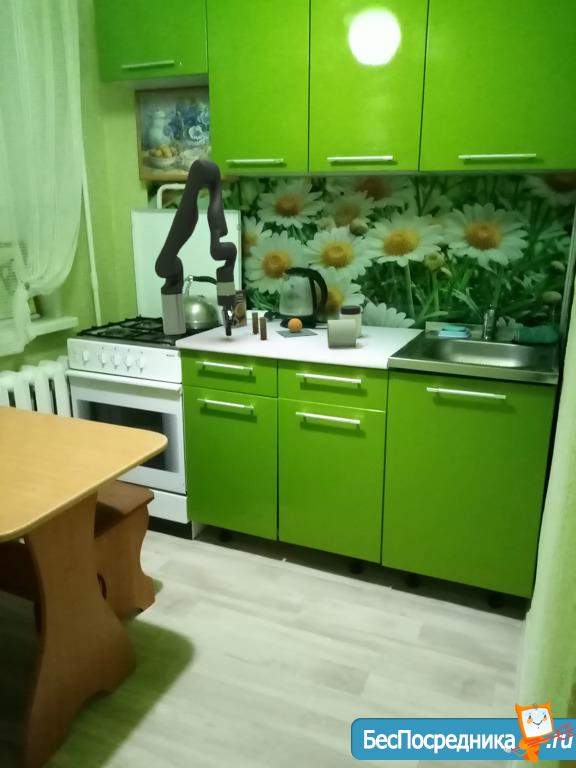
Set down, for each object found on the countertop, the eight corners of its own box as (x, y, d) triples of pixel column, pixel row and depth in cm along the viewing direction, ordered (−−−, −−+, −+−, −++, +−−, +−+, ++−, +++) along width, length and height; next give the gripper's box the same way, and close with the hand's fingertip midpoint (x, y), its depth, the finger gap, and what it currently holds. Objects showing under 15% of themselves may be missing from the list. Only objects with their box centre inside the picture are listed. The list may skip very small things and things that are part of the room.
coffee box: (234, 328, 266) (232, 292, 261) (223, 327, 269) (221, 291, 265) (247, 325, 273) (246, 289, 268) (237, 324, 276) (235, 289, 272)
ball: (307, 326, 250) (297, 336, 250) (301, 324, 256) (291, 334, 255) (298, 316, 248) (288, 326, 247) (293, 314, 253) (283, 324, 252)
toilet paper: (353, 342, 229) (353, 317, 226) (356, 348, 219) (356, 321, 217) (327, 343, 229) (327, 318, 226) (329, 349, 219) (328, 322, 217)
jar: (342, 339, 236) (341, 309, 233) (337, 335, 244) (337, 306, 241) (363, 337, 237) (364, 307, 234) (358, 333, 245) (358, 304, 242)
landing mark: (285, 337, 242) (285, 337, 242) (275, 331, 255) (275, 331, 255) (317, 334, 246) (317, 334, 246) (306, 328, 259) (306, 328, 259)
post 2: (261, 340, 239) (260, 318, 236) (259, 339, 241) (258, 317, 239) (267, 339, 239) (266, 317, 237) (266, 338, 242) (265, 316, 239)
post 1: (253, 334, 251) (252, 313, 248) (252, 333, 253) (251, 312, 251) (259, 334, 251) (258, 312, 249) (258, 332, 254) (257, 312, 251)
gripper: (213, 292, 243) (216, 333, 247) (220, 295, 230) (222, 339, 235) (231, 290, 245) (234, 332, 249) (238, 294, 232) (241, 337, 237)
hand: (228, 335), depth 242 cm, fingers closed
